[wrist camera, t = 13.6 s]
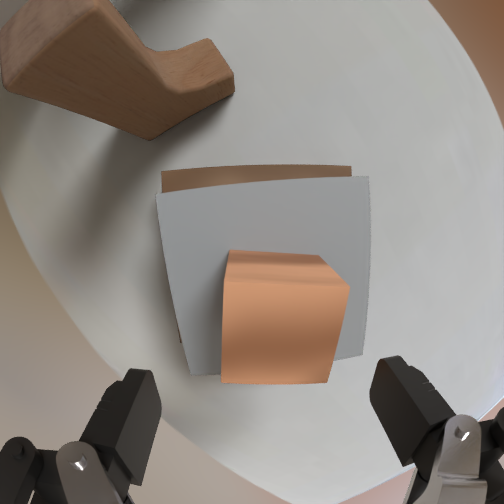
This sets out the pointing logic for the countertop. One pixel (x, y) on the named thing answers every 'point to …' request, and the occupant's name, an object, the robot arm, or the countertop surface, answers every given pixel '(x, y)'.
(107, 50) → the wooden block
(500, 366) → the countertop surface
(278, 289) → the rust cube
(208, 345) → the tower top block
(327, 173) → the tower base block
